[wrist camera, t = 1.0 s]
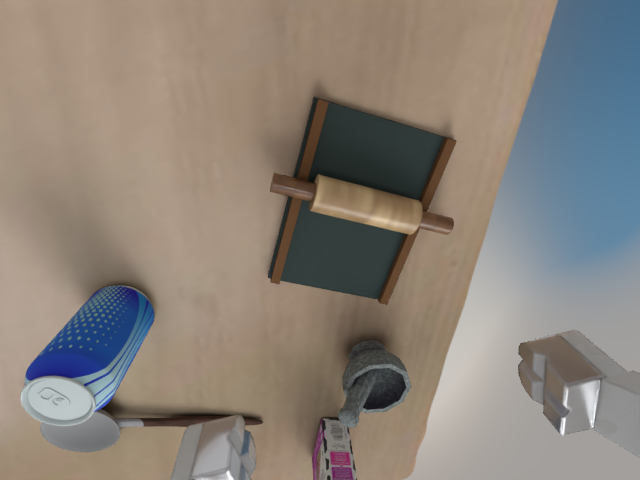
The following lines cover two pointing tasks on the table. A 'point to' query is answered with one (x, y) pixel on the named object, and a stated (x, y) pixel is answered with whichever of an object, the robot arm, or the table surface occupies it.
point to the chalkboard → (366, 170)
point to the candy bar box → (333, 452)
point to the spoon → (112, 429)
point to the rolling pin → (361, 204)
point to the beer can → (88, 357)
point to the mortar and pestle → (372, 382)
